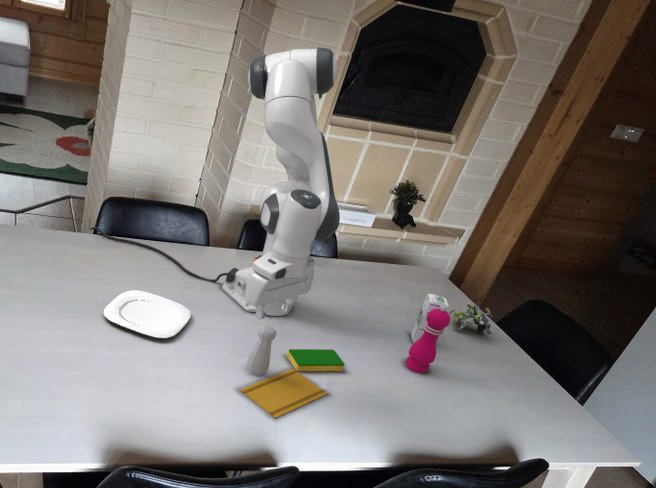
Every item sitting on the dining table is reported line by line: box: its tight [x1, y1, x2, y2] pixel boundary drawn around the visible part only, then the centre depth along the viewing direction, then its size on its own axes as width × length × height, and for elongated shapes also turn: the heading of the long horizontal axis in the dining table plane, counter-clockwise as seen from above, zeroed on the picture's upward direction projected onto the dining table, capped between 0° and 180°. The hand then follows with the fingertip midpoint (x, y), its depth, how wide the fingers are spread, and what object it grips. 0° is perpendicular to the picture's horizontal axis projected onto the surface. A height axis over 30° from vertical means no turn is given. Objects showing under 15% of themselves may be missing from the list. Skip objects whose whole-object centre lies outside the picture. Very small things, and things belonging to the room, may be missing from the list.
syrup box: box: [410, 292, 450, 344], centre depth 192 cm, size 6×6×14 cm
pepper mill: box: [405, 305, 451, 374], centre depth 177 cm, size 7×7×20 cm
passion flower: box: [449, 301, 493, 336], centre depth 205 cm, size 11×11×12 cm
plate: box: [103, 289, 192, 340], centre depth 178 cm, size 22×22×2 cm
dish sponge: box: [286, 348, 346, 372], centre depth 173 cm, size 7×14×2 cm, turn 105°
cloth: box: [239, 368, 328, 419], centre depth 160 cm, size 12×20×1 cm, turn 130°
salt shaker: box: [246, 325, 277, 377], centre depth 162 cm, size 6×6×13 cm
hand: (272, 314), depth 156 cm, fingers open, 8 cm apart
